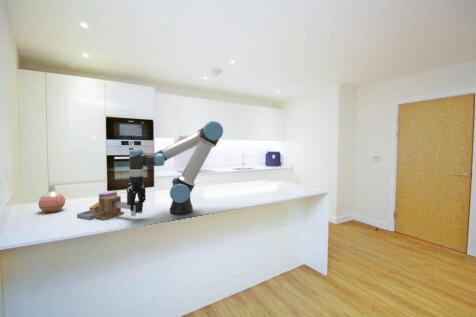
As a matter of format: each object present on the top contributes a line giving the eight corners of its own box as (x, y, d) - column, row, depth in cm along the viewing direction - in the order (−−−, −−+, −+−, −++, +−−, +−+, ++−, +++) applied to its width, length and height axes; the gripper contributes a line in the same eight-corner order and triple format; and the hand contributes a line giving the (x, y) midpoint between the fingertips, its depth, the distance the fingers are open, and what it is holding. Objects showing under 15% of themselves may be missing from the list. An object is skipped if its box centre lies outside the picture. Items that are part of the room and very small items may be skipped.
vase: (55, 214, 143) (54, 186, 142) (32, 214, 142) (31, 186, 141) (70, 208, 157) (69, 183, 156) (49, 208, 156) (48, 183, 155)
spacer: (102, 203, 144) (97, 202, 146) (93, 208, 139) (89, 207, 140) (104, 209, 146) (99, 209, 147) (96, 215, 141) (91, 214, 142)
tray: (109, 213, 146) (109, 210, 146) (90, 220, 134) (90, 215, 134) (96, 212, 149) (96, 208, 149) (77, 217, 137) (77, 213, 137)
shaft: (142, 210, 137) (142, 201, 136) (136, 213, 132) (136, 203, 132) (108, 206, 145) (108, 197, 144) (102, 208, 140) (101, 199, 139)
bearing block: (123, 213, 147) (123, 195, 146) (104, 220, 133) (104, 200, 133) (115, 212, 149) (115, 194, 149) (95, 219, 136) (95, 199, 135)
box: (106, 212, 150) (105, 194, 149) (98, 211, 151) (98, 193, 150) (117, 207, 160) (117, 191, 159) (110, 207, 161) (110, 190, 161)
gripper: (142, 173, 143) (142, 209, 145) (119, 177, 126) (119, 218, 127) (152, 174, 141) (152, 211, 142) (129, 178, 124) (130, 220, 125)
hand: (136, 214), depth 135 cm, fingers closed on shaft, 5 cm apart
